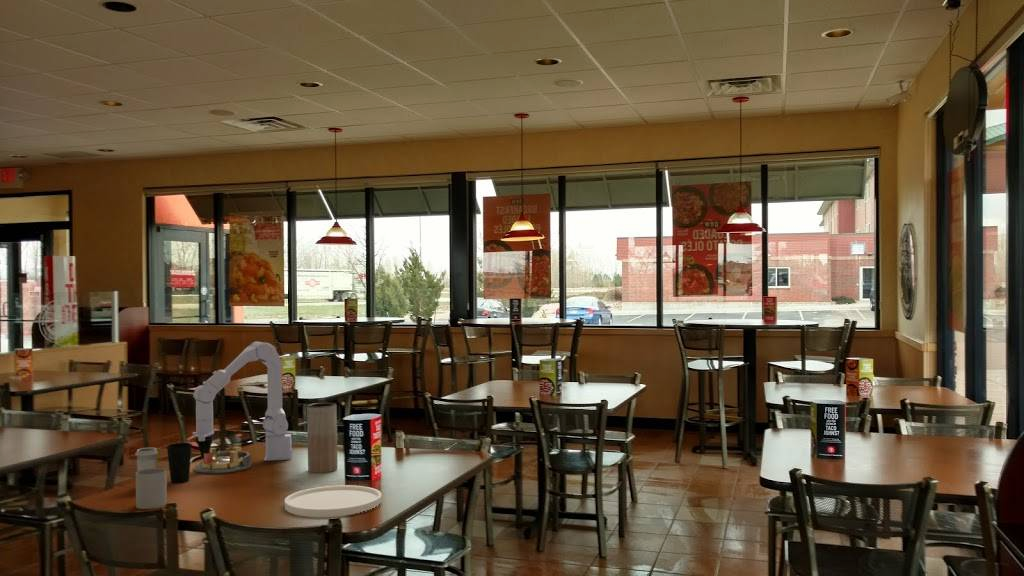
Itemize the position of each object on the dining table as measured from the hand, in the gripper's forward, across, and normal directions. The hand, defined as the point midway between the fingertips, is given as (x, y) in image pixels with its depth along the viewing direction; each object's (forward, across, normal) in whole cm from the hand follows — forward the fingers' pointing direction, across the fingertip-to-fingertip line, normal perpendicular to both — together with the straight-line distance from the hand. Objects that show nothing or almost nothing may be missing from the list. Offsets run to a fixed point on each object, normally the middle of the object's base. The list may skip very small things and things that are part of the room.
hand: (205, 458), depth 296 cm
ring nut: (+3, 0, +6) cm, 7 cm away
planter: (+4, +12, +41) cm, 43 cm away
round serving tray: (+4, 0, +6) cm, 7 cm away
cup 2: (+4, +48, -8) cm, 49 cm away
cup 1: (+4, +23, -14) cm, 27 cm away
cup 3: (+4, +18, -5) cm, 19 cm away
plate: (+4, +60, +45) cm, 75 cm away
